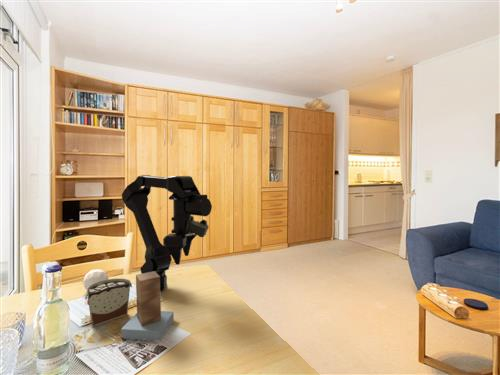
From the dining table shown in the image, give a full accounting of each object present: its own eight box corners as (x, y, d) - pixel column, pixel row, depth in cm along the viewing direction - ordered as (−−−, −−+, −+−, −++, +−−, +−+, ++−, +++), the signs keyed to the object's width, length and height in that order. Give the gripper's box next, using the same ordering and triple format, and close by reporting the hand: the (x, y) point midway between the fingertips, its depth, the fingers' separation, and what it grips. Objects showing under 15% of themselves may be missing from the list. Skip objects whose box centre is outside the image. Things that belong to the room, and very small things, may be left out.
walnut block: (141, 326, 72) (140, 280, 71) (137, 317, 76) (135, 274, 76) (161, 320, 75) (159, 276, 74) (155, 312, 79) (154, 271, 78)
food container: (124, 305, 88) (124, 274, 88) (132, 312, 84) (132, 280, 83) (80, 319, 80) (79, 285, 79) (86, 328, 75) (85, 292, 75)
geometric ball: (92, 301, 97) (76, 288, 92) (93, 285, 103) (79, 272, 99) (112, 289, 98) (98, 275, 94) (112, 274, 105) (99, 260, 100)
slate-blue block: (121, 340, 71) (121, 329, 71) (140, 319, 81) (140, 309, 81) (159, 342, 70) (159, 331, 70) (173, 321, 80) (173, 311, 80)
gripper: (198, 218, 83) (198, 270, 84) (212, 210, 101) (212, 252, 102) (162, 218, 84) (162, 269, 84) (182, 209, 102) (182, 251, 103)
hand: (182, 259), depth 93 cm, fingers open, 9 cm apart
